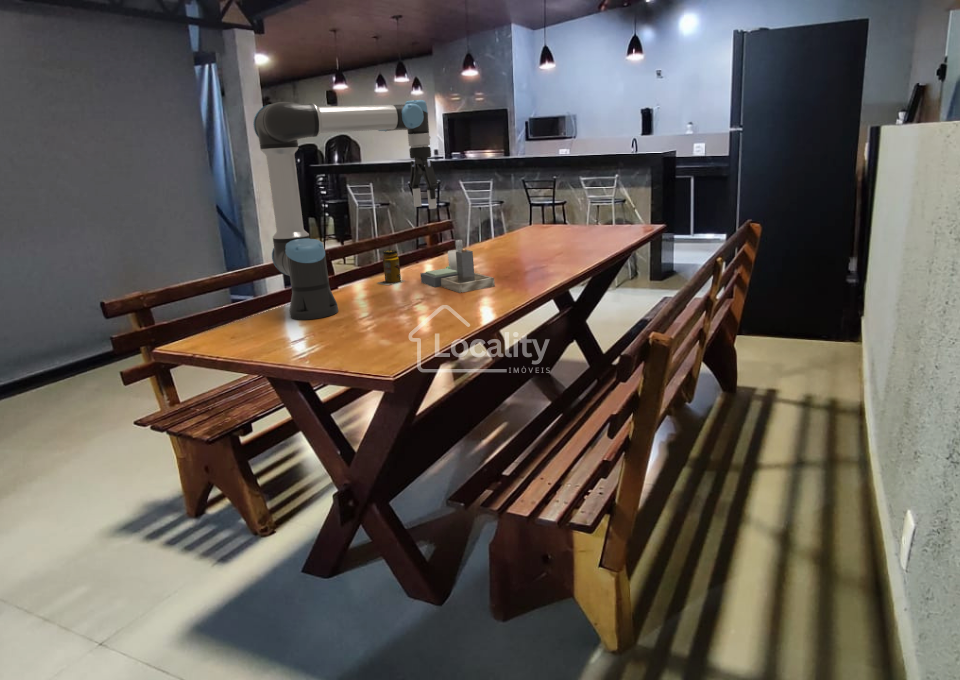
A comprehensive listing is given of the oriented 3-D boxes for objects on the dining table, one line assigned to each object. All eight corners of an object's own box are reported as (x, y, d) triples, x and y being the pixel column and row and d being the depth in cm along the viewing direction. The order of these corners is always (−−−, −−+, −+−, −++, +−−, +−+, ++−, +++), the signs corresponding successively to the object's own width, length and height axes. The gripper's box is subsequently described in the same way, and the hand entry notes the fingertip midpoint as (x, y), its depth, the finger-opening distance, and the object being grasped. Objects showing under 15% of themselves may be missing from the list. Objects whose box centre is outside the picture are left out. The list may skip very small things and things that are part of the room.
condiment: (405, 281, 256) (402, 250, 253) (388, 285, 251) (384, 253, 247) (394, 279, 261) (391, 248, 258) (376, 283, 256) (372, 252, 252)
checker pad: (436, 279, 242) (436, 275, 242) (425, 275, 250) (425, 271, 249) (458, 275, 246) (458, 271, 246) (447, 272, 254) (447, 268, 254)
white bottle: (455, 276, 257) (452, 243, 253) (446, 274, 263) (443, 241, 260) (473, 273, 260) (471, 240, 257) (464, 271, 267) (461, 238, 263)
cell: (464, 286, 235) (461, 250, 232) (458, 285, 239) (455, 249, 235) (475, 284, 237) (472, 248, 234) (469, 283, 241) (466, 247, 237)
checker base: (435, 287, 241) (434, 275, 240) (421, 282, 251) (419, 271, 250) (465, 281, 246) (464, 270, 245) (449, 277, 257) (448, 266, 256)
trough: (459, 292, 229) (458, 284, 228) (441, 286, 241) (440, 278, 240) (494, 286, 236) (494, 277, 235) (475, 280, 248) (474, 272, 247)
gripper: (444, 145, 228) (449, 208, 234) (416, 146, 249) (421, 204, 255) (423, 146, 224) (429, 210, 230) (397, 148, 246) (402, 206, 252)
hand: (425, 207), depth 243 cm, fingers open, 13 cm apart
